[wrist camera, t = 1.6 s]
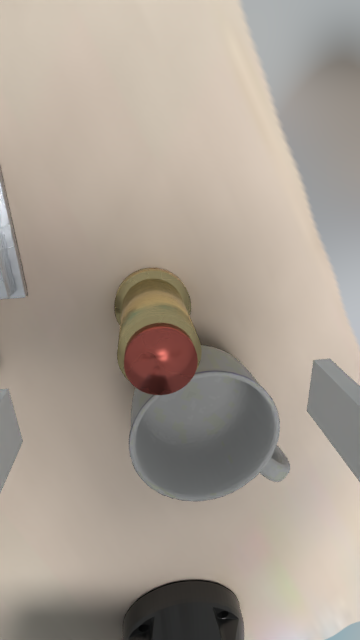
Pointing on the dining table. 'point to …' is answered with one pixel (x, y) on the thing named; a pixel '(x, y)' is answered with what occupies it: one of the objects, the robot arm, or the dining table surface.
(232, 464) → the teacup
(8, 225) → the flange seat
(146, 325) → the cylinder
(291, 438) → the dining table surface
